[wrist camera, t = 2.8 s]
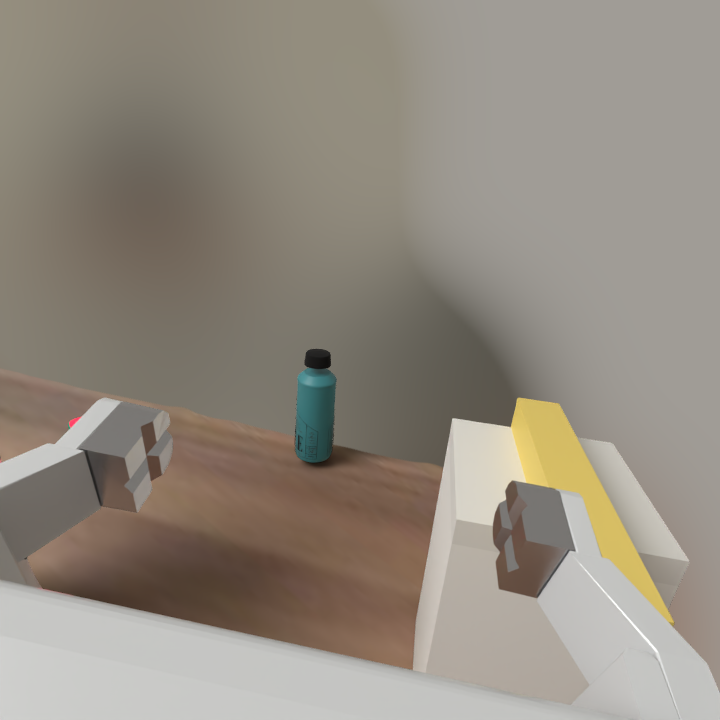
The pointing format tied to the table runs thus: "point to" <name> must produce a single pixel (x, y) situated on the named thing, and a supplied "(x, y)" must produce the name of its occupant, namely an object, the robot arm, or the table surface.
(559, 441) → the mustard bar
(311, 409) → the beverage bottle
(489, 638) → the off-white stand
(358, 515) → the table surface
